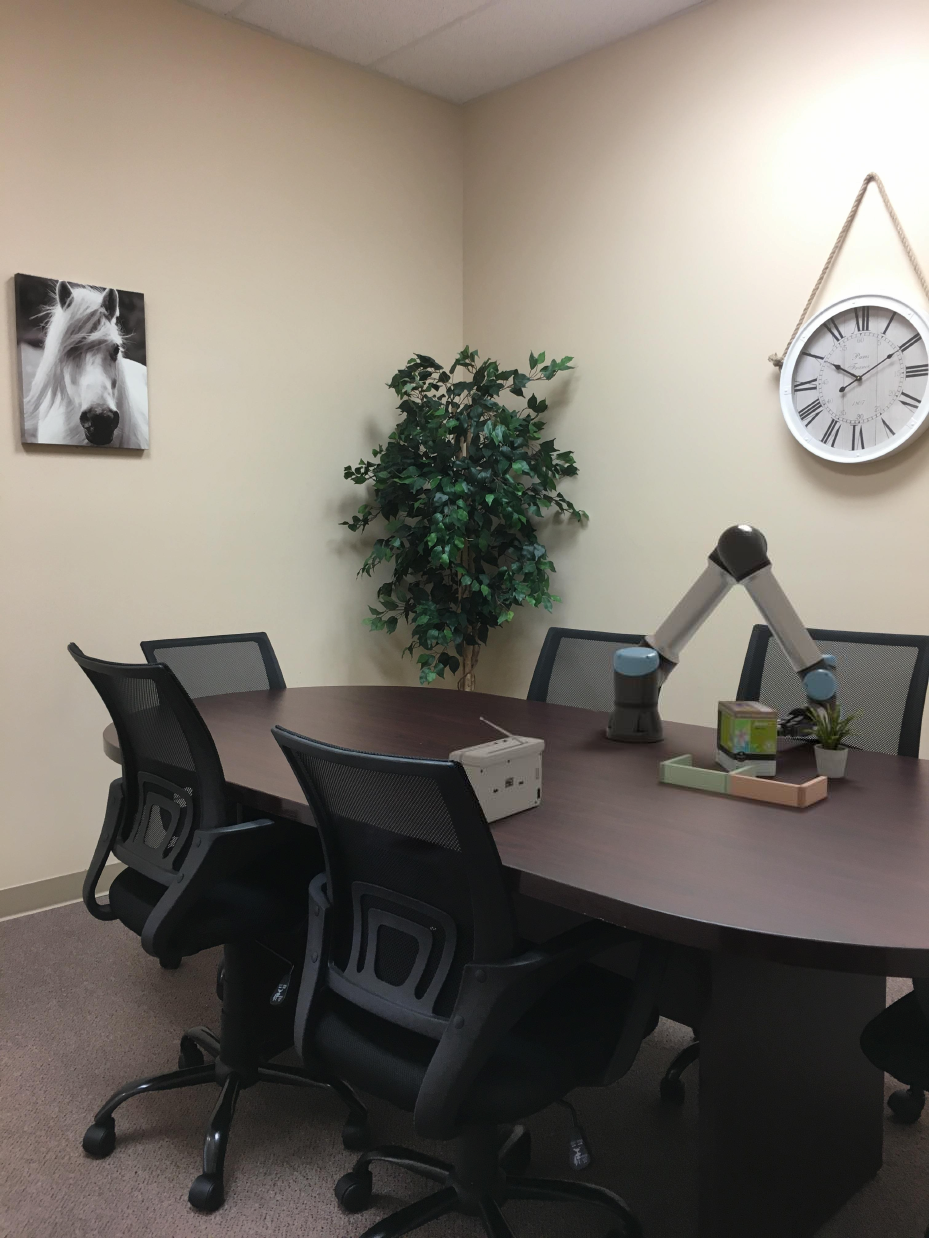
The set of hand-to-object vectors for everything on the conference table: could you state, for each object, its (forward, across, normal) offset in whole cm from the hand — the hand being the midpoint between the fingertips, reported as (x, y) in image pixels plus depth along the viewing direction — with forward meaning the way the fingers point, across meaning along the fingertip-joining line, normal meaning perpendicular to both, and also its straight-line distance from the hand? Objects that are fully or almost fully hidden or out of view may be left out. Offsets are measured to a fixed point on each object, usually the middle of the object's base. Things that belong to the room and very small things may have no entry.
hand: (766, 734), depth 223 cm
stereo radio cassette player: (+76, +19, -6) cm, 78 cm away
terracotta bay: (+28, -15, -6) cm, 32 cm away
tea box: (+10, 0, -6) cm, 12 cm away
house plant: (+4, -18, -6) cm, 19 cm away
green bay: (+27, 0, -6) cm, 27 cm away
